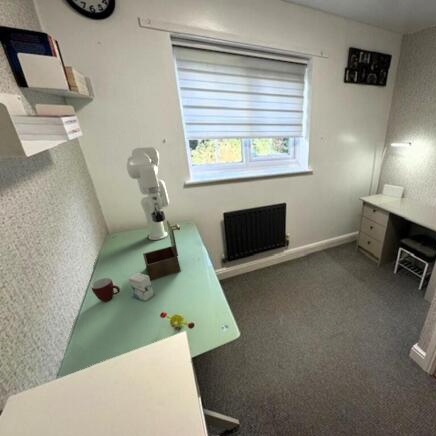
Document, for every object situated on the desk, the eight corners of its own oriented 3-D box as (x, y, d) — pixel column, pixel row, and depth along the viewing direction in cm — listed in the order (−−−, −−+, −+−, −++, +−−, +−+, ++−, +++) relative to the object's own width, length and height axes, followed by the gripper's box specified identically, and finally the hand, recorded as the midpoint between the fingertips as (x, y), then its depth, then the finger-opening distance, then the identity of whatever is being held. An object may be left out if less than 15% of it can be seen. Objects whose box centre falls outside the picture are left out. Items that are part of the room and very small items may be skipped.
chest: (150, 280, 131) (145, 265, 127) (146, 267, 142) (142, 253, 138) (180, 271, 140) (177, 256, 136) (175, 259, 151) (172, 245, 147)
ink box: (133, 296, 120) (127, 278, 115) (142, 290, 124) (136, 272, 119) (146, 301, 117) (140, 282, 112) (154, 294, 121) (149, 275, 117)
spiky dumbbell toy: (157, 326, 103) (154, 314, 101) (167, 317, 108) (164, 305, 105) (190, 339, 98) (187, 327, 95) (199, 329, 102) (197, 317, 100)
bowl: (151, 219, 137) (150, 212, 135) (164, 217, 140) (162, 210, 138) (153, 223, 132) (151, 216, 130) (166, 220, 135) (164, 213, 134)
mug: (124, 291, 123) (119, 275, 119) (120, 301, 116) (114, 285, 112) (100, 295, 120) (94, 279, 116) (94, 306, 113) (87, 290, 109)
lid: (171, 230, 129) (181, 228, 131) (166, 220, 140) (175, 219, 143) (176, 256, 135) (186, 253, 138) (171, 245, 146) (180, 243, 149)
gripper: (162, 192, 124) (168, 222, 131) (156, 184, 137) (163, 213, 144) (146, 194, 120) (153, 226, 127) (142, 186, 133) (149, 215, 140)
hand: (158, 218), depth 136 cm, fingers closed on bowl, 6 cm apart
